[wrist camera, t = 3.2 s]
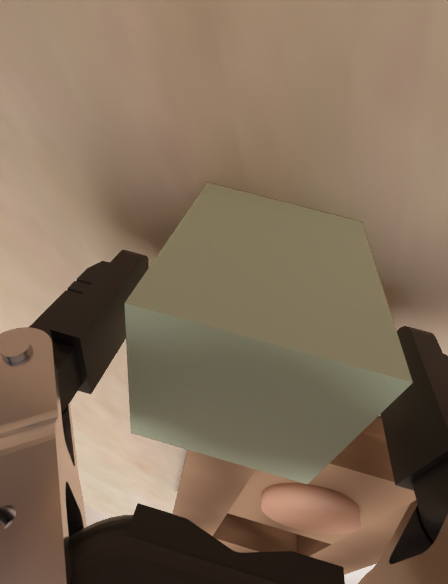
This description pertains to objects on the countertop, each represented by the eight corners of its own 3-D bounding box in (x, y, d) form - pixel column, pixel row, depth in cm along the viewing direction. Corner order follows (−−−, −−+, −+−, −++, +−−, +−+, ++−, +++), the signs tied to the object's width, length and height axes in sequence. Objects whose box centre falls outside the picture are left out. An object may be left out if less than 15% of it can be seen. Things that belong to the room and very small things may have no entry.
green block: (191, 296, 13) (130, 433, 9) (207, 181, 10) (124, 303, 5) (306, 327, 13) (307, 484, 8) (361, 221, 10) (412, 382, 5)
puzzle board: (179, 493, 29) (165, 540, 26) (209, 369, 16) (189, 437, 13) (325, 536, 28) (327, 590, 26) (481, 445, 15) (519, 533, 13)
